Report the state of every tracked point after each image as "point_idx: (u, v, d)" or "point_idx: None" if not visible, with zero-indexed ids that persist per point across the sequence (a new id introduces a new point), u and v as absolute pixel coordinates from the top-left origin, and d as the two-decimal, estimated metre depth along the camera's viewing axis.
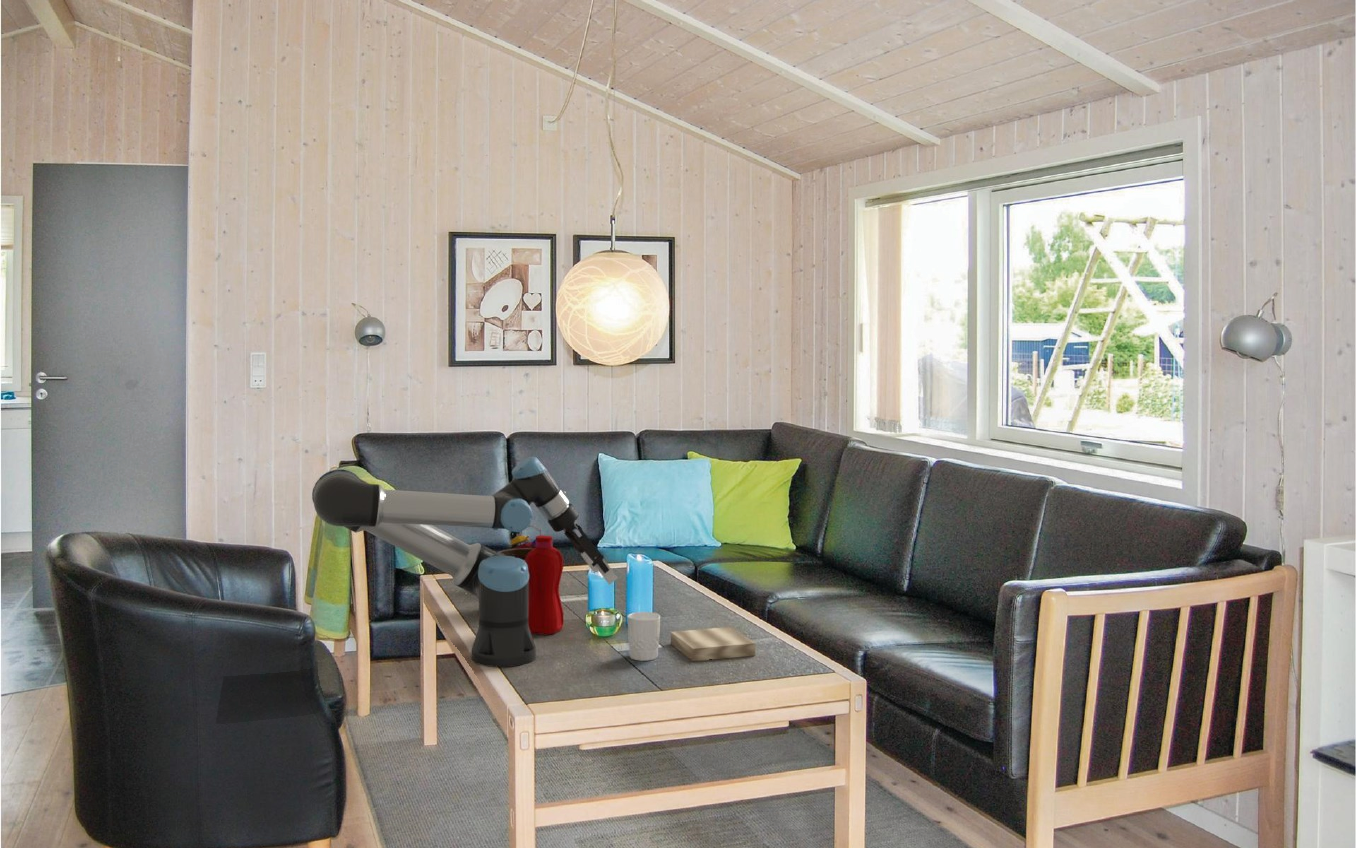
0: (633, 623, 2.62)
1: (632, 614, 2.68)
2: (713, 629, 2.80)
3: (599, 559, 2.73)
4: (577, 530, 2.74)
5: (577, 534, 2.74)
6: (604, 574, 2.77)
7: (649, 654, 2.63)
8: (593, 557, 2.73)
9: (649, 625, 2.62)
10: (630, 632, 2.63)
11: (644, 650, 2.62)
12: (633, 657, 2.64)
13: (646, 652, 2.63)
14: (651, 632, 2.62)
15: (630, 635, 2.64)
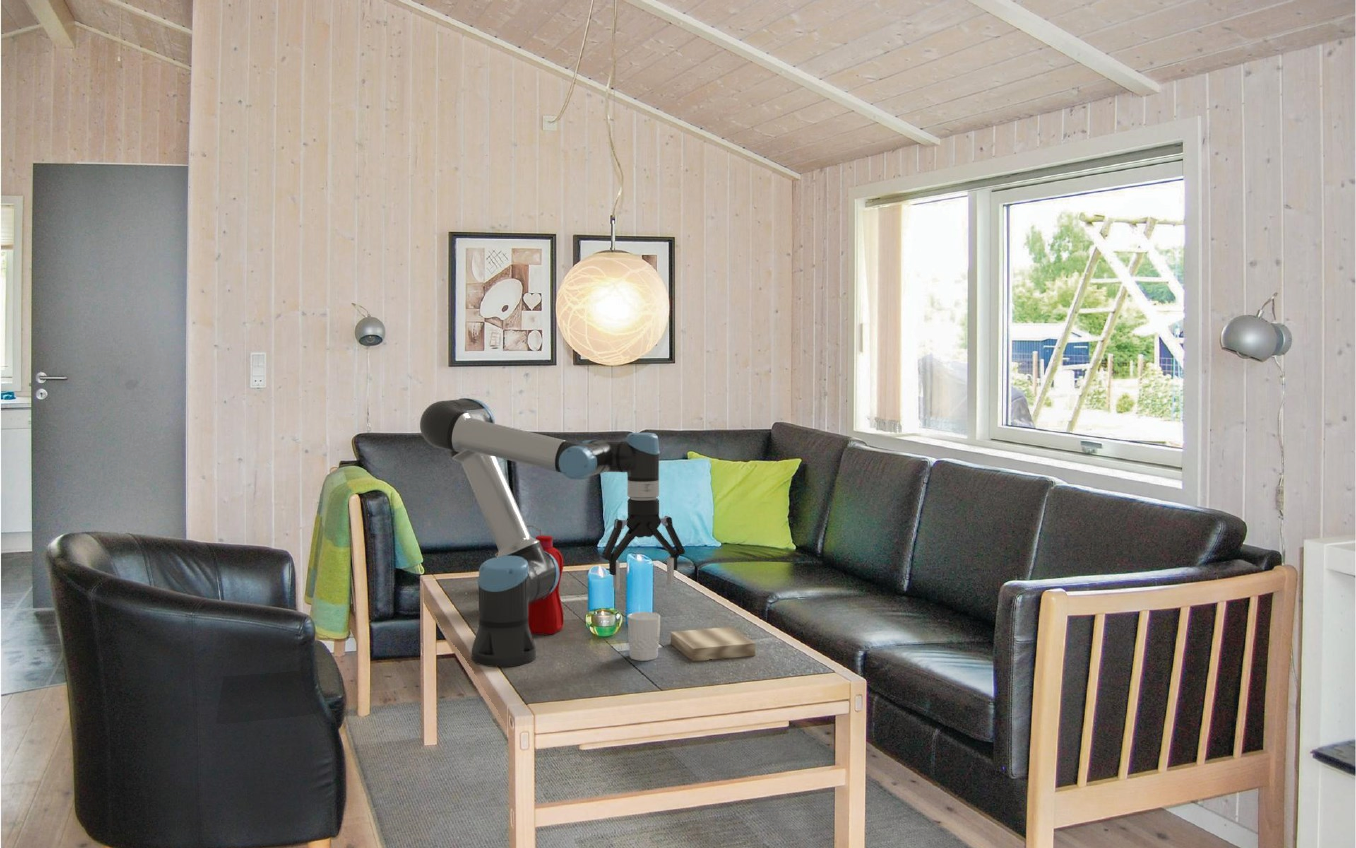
0: (633, 623, 2.62)
1: (632, 614, 2.68)
2: (713, 629, 2.80)
3: (603, 556, 2.61)
4: (617, 520, 2.62)
5: (615, 523, 2.62)
6: (613, 575, 2.63)
7: (649, 654, 2.63)
8: (604, 550, 2.62)
9: (649, 625, 2.62)
10: (630, 632, 2.63)
11: (644, 650, 2.62)
12: (633, 657, 2.64)
13: (646, 652, 2.63)
14: (651, 632, 2.62)
15: (630, 635, 2.64)
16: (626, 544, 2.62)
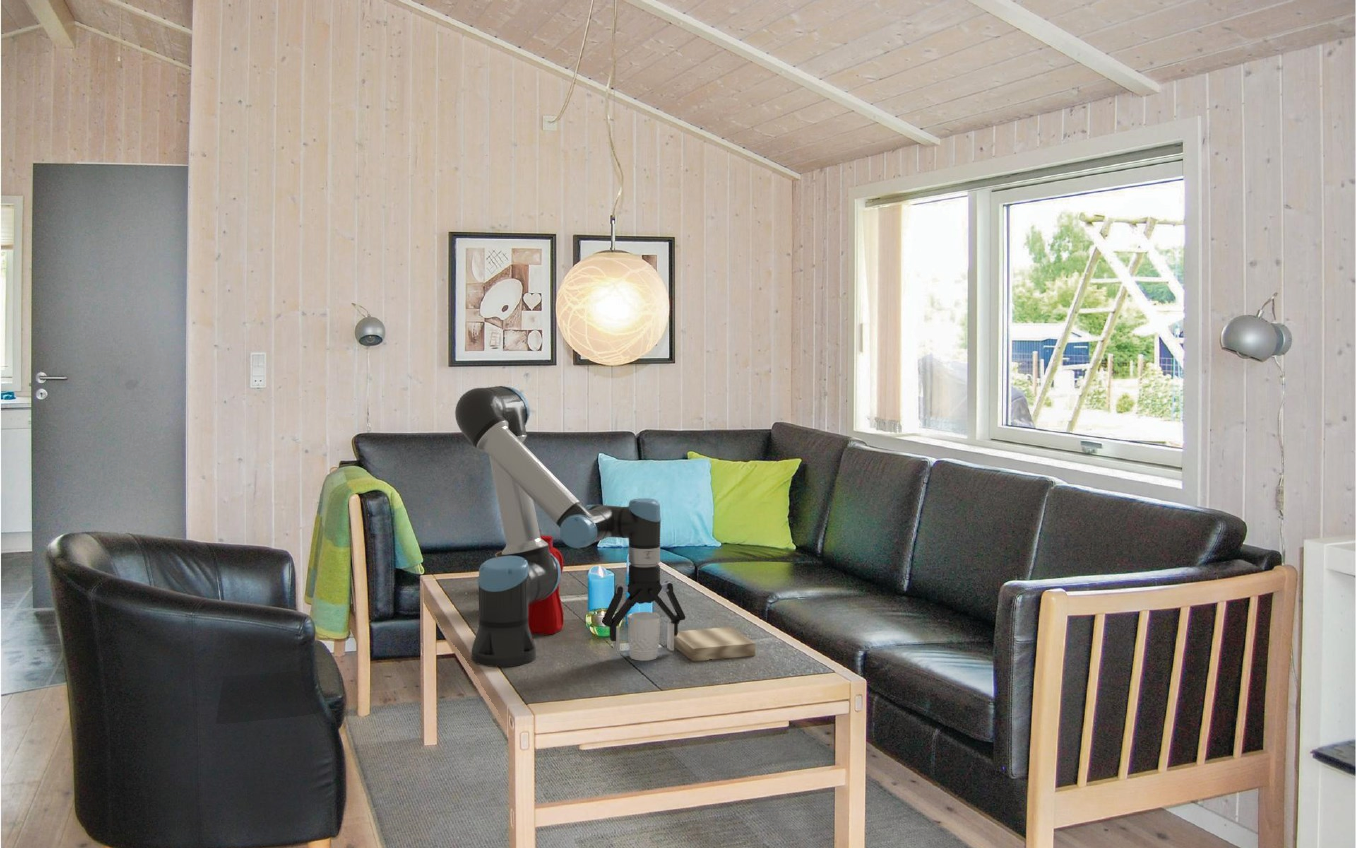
0: (633, 623, 2.62)
1: (632, 614, 2.68)
2: (713, 629, 2.80)
3: (603, 622, 2.62)
4: (617, 587, 2.62)
5: (616, 589, 2.63)
6: (614, 641, 2.64)
7: (649, 654, 2.63)
8: (604, 616, 2.63)
9: (649, 625, 2.62)
10: (630, 632, 2.63)
11: (644, 650, 2.62)
12: (633, 657, 2.64)
13: (646, 652, 2.63)
14: (651, 632, 2.62)
15: (630, 635, 2.64)
16: (626, 610, 2.62)
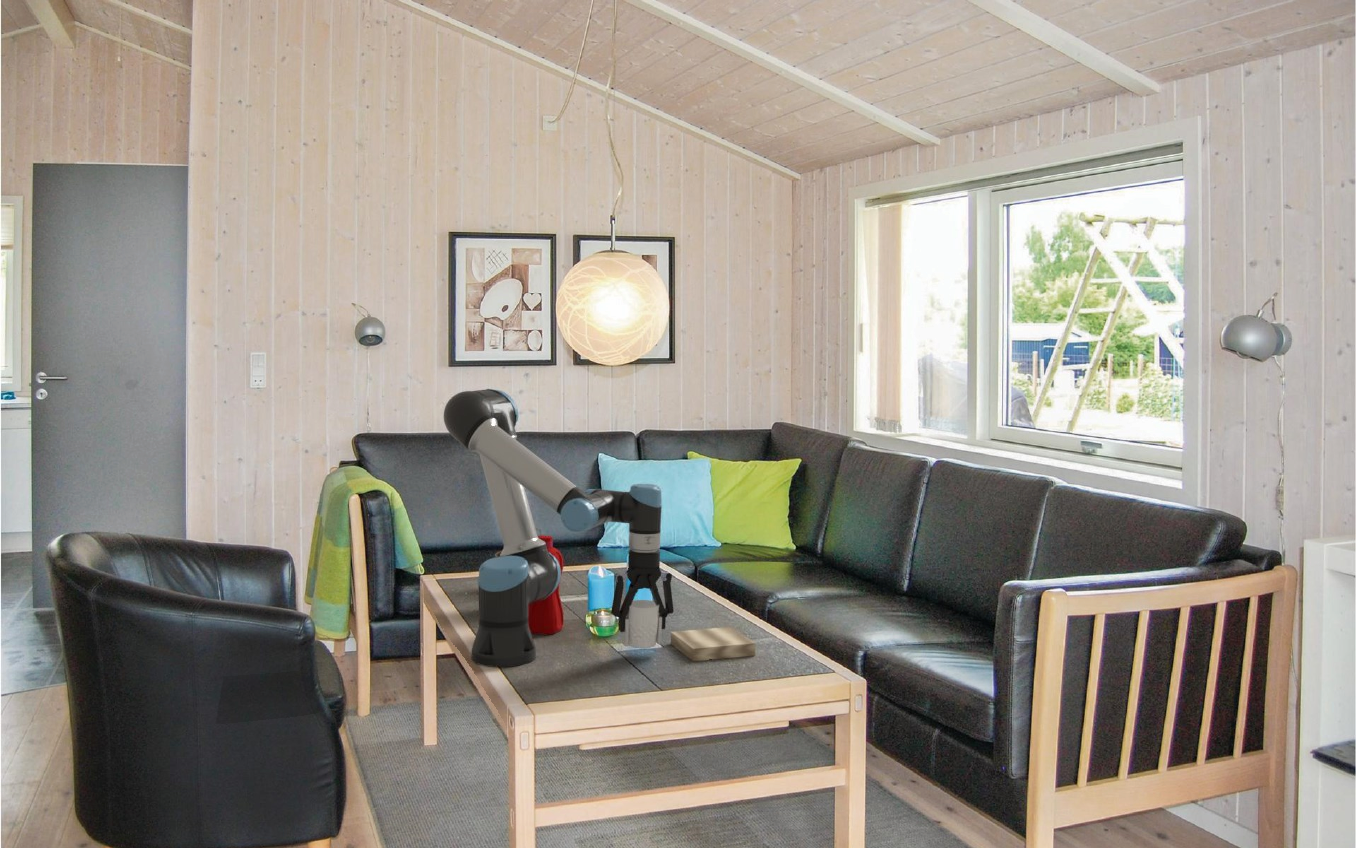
0: (632, 611, 2.62)
1: None
2: (713, 629, 2.80)
3: None
4: (617, 576, 2.62)
5: (616, 579, 2.63)
6: (622, 631, 2.65)
7: (647, 642, 2.63)
8: (612, 607, 2.64)
9: (648, 613, 2.62)
10: None
11: (642, 638, 2.62)
12: (631, 645, 2.64)
13: (644, 640, 2.63)
14: (650, 620, 2.62)
15: None
16: (631, 598, 2.63)
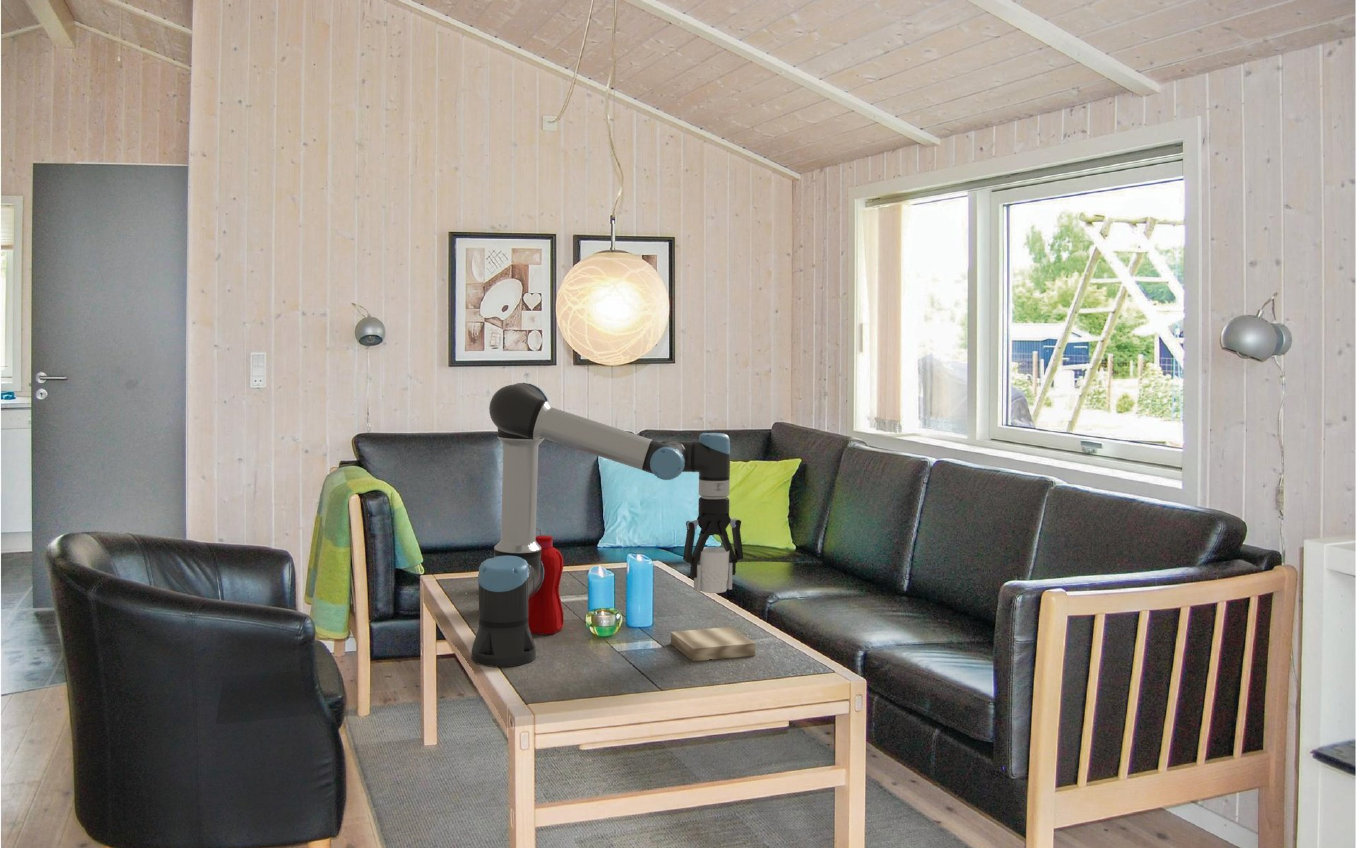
0: (703, 556, 2.68)
1: None
2: (713, 629, 2.80)
3: (685, 560, 2.69)
4: (688, 523, 2.68)
5: (687, 526, 2.69)
6: (694, 577, 2.71)
7: (719, 587, 2.69)
8: (684, 554, 2.69)
9: (719, 558, 2.68)
10: None
11: (714, 583, 2.68)
12: (703, 590, 2.69)
13: (716, 585, 2.68)
14: (721, 565, 2.68)
15: None
16: (703, 545, 2.69)
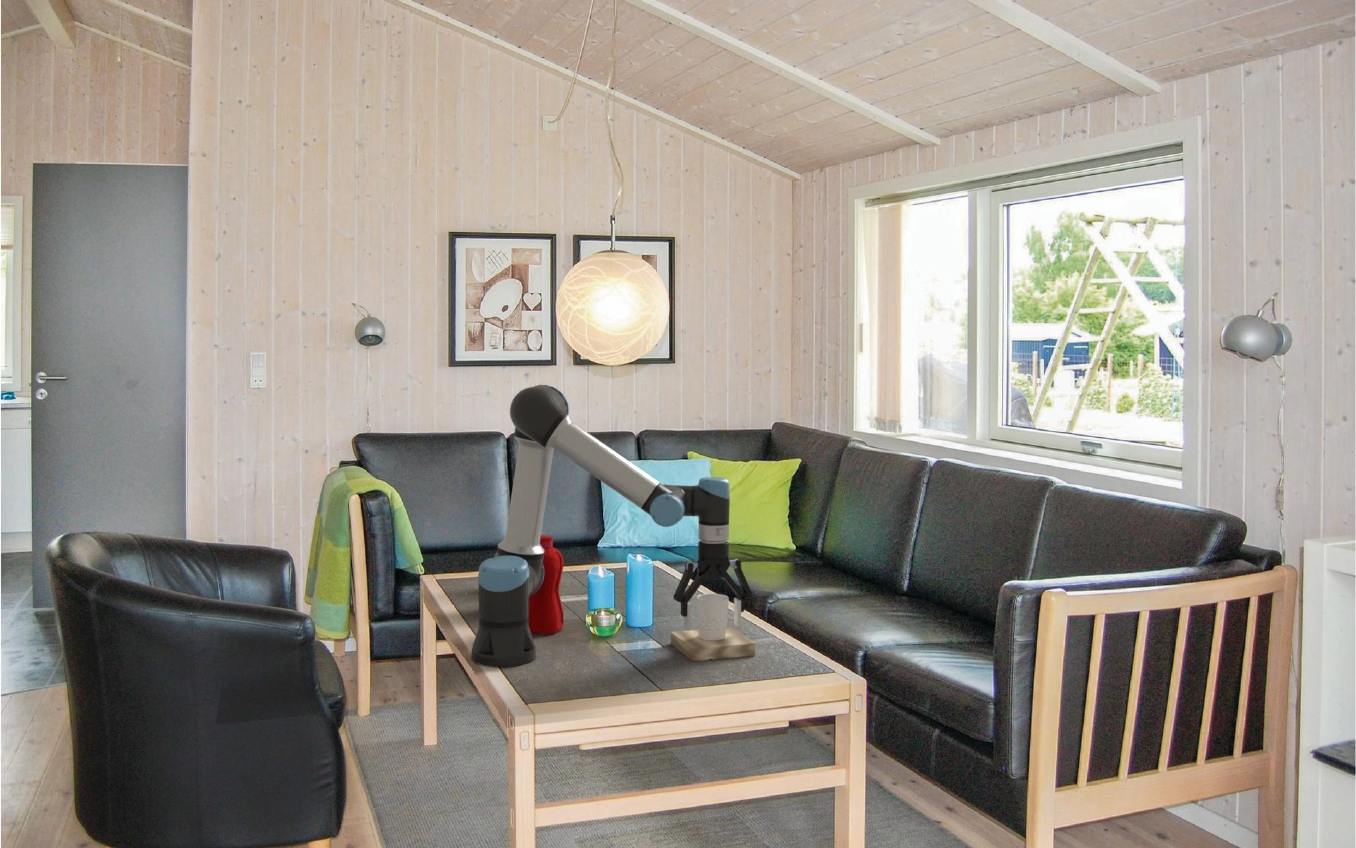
0: (703, 604, 2.69)
1: (700, 596, 2.74)
2: None
3: (675, 598, 2.69)
4: (688, 563, 2.69)
5: (686, 566, 2.69)
6: (684, 616, 2.71)
7: (718, 635, 2.70)
8: (675, 592, 2.69)
9: (719, 606, 2.69)
10: (699, 613, 2.70)
11: (713, 630, 2.69)
12: (702, 637, 2.70)
13: (715, 632, 2.69)
14: (720, 613, 2.69)
15: (699, 616, 2.70)
16: (697, 586, 2.69)
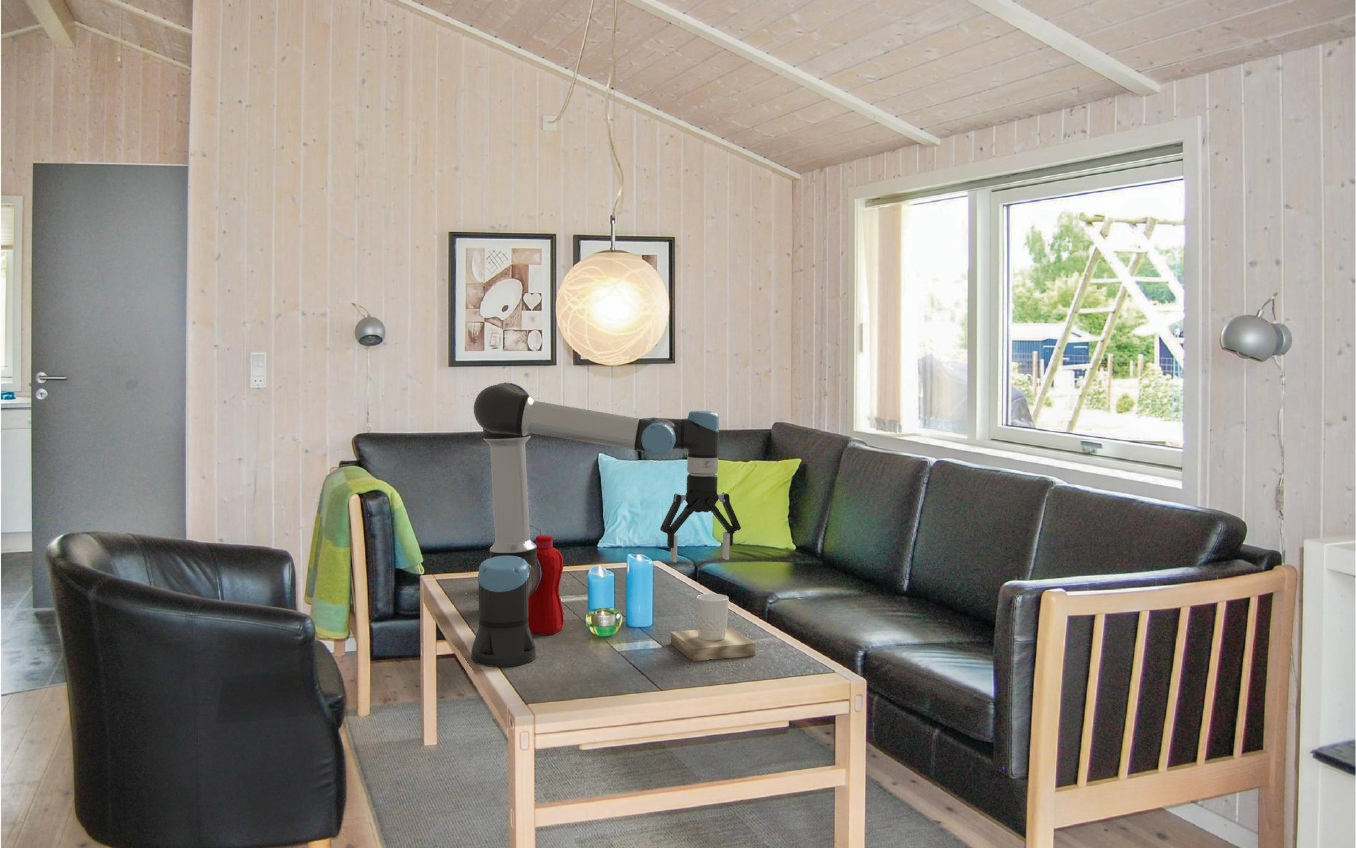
0: (703, 604, 2.69)
1: (700, 596, 2.74)
2: None
3: (661, 529, 2.70)
4: (676, 495, 2.70)
5: (674, 498, 2.70)
6: (671, 548, 2.72)
7: (718, 635, 2.70)
8: (662, 524, 2.70)
9: (719, 606, 2.69)
10: (699, 613, 2.70)
11: (713, 630, 2.69)
12: (702, 637, 2.70)
13: (715, 632, 2.69)
14: (720, 613, 2.69)
15: (699, 616, 2.70)
16: (684, 518, 2.70)
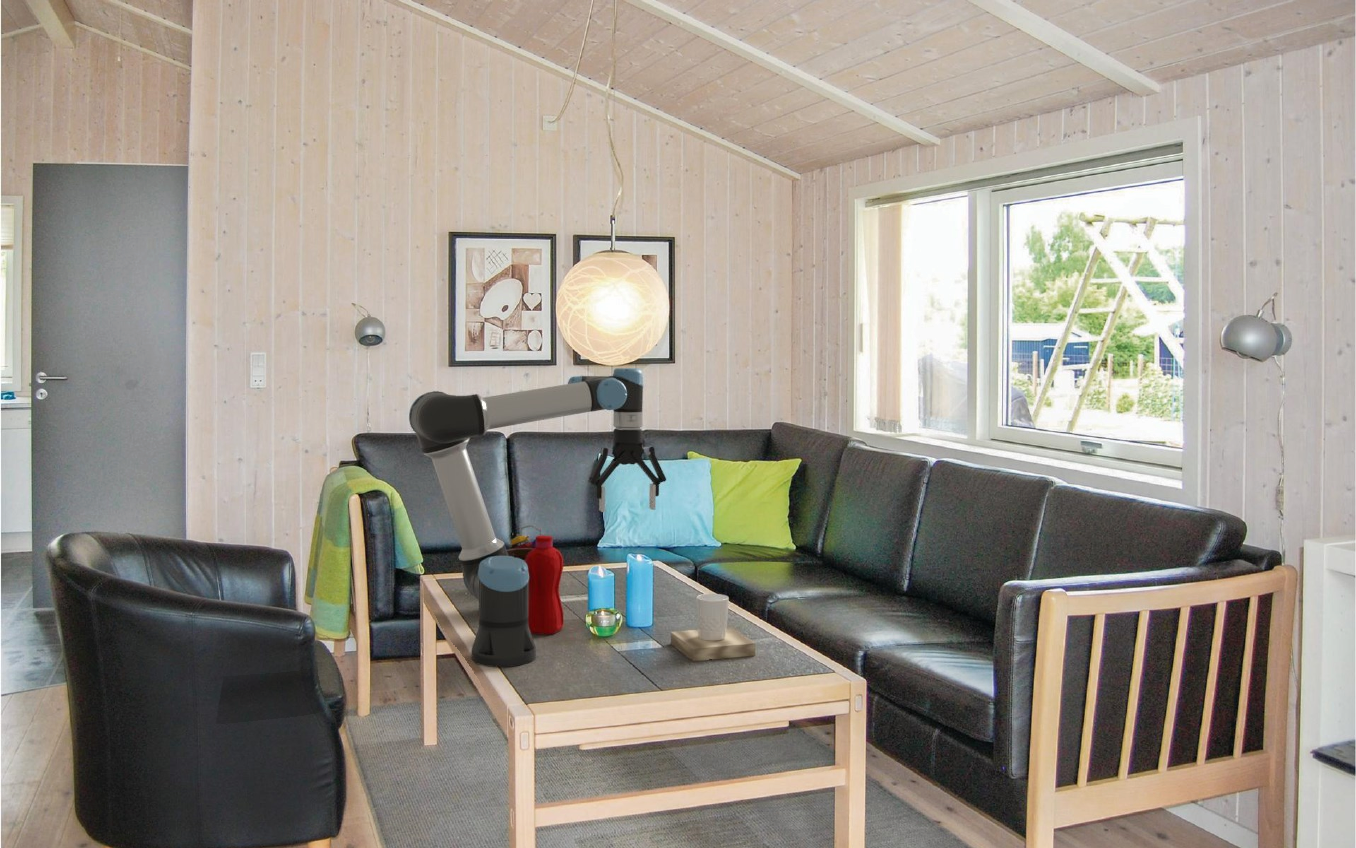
0: (703, 604, 2.69)
1: (700, 596, 2.74)
2: None
3: (589, 481, 2.83)
4: (603, 448, 2.83)
5: (601, 451, 2.84)
6: (599, 499, 2.85)
7: (718, 635, 2.70)
8: (590, 476, 2.84)
9: (719, 606, 2.69)
10: (699, 613, 2.70)
11: (713, 630, 2.69)
12: (702, 637, 2.70)
13: (715, 632, 2.69)
14: (720, 613, 2.69)
15: (699, 616, 2.70)
16: (611, 470, 2.84)
